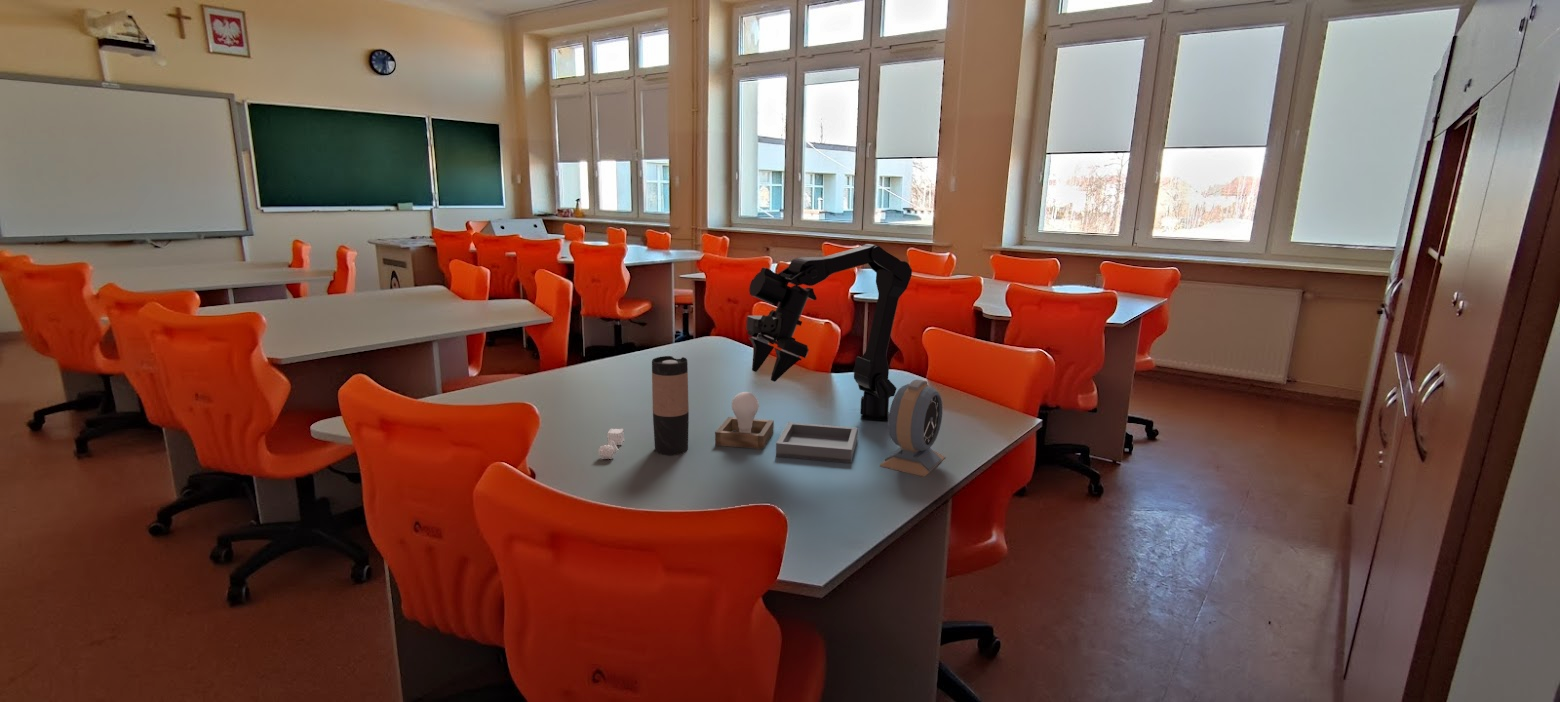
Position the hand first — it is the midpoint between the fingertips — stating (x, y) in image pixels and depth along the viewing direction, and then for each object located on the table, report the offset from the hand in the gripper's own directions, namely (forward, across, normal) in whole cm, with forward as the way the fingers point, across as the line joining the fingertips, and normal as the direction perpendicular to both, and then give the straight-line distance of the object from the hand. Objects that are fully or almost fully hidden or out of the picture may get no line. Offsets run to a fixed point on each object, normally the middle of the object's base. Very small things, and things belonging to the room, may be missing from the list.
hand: (763, 376), depth 158 cm
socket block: (+15, 0, +2) cm, 15 cm away
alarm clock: (+5, +28, +26) cm, 38 cm away
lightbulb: (+15, 0, +2) cm, 15 cm away
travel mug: (+22, -2, -14) cm, 26 cm away
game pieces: (+27, -6, -24) cm, 37 cm away
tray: (+10, +12, +13) cm, 20 cm away
